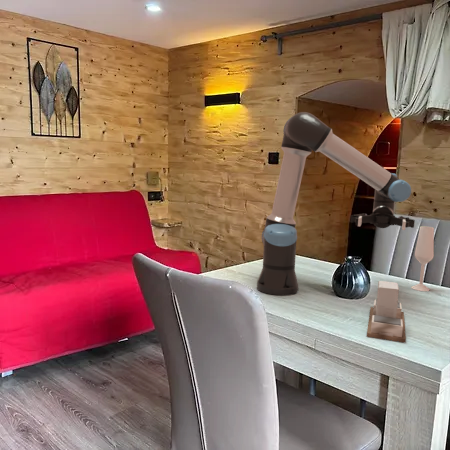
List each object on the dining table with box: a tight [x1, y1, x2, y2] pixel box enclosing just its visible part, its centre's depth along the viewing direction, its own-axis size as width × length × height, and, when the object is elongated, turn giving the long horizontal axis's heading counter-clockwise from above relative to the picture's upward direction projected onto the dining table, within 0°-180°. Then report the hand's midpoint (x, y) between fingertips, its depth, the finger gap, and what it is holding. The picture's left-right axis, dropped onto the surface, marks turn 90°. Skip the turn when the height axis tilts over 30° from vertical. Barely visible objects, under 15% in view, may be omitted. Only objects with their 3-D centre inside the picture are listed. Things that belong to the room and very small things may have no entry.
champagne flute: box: [411, 225, 435, 292], centre depth 172 cm, size 7×7×24 cm
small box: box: [376, 280, 400, 318], centre depth 133 cm, size 8×6×10 cm
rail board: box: [366, 298, 407, 343], centre depth 133 cm, size 10×24×4 cm, turn 160°
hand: (381, 224), depth 144 cm, fingers open, 13 cm apart
